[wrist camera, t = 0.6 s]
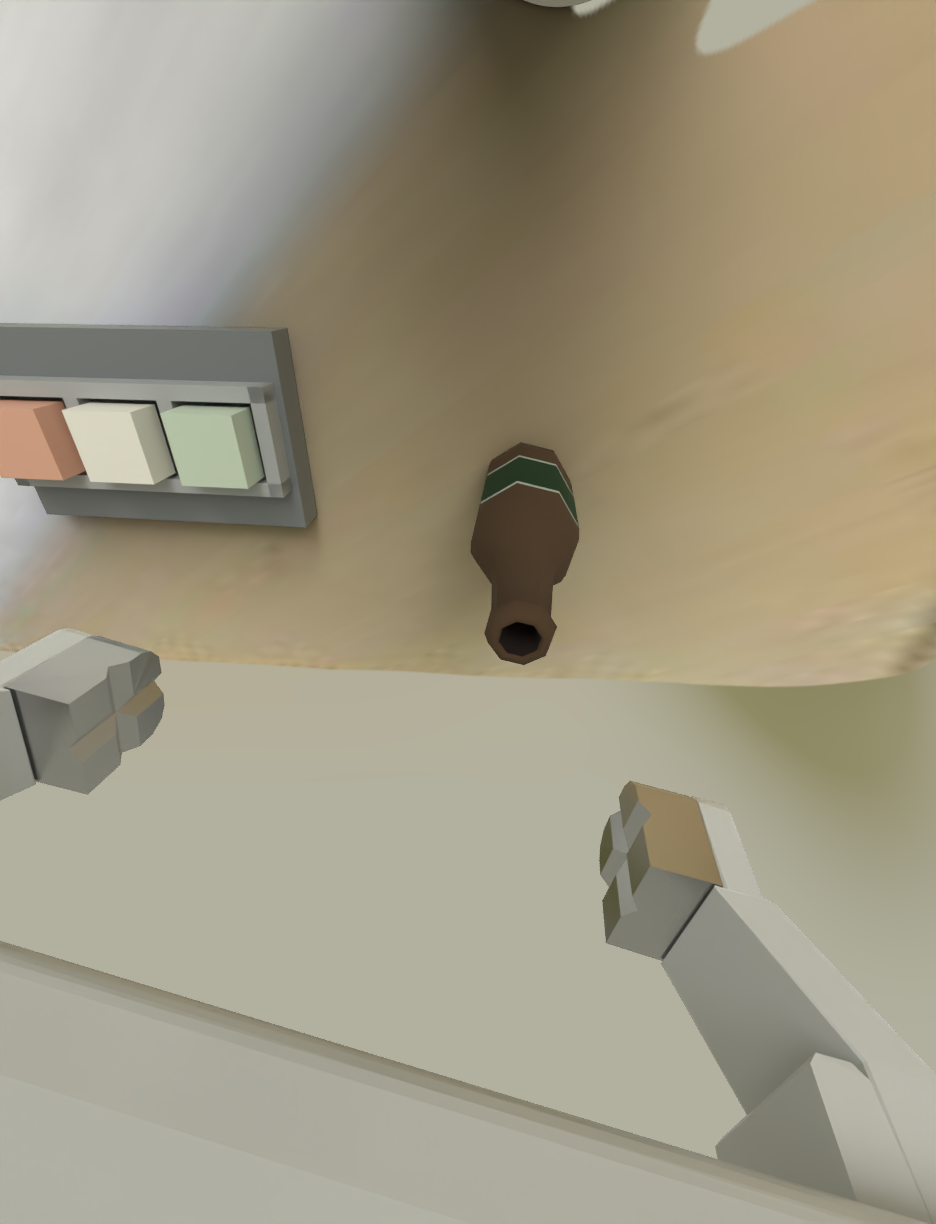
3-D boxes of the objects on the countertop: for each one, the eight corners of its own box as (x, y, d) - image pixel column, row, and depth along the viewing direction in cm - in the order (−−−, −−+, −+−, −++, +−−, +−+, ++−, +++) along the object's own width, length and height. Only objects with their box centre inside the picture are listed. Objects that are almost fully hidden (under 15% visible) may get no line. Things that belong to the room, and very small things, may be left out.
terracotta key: (-1, 399, 42) (-34, 407, 40) (62, 401, 42) (32, 409, 40) (30, 466, 46) (1, 477, 43) (89, 469, 45) (63, 480, 43)
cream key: (89, 402, 42) (61, 410, 39) (154, 404, 41) (129, 412, 39) (115, 470, 45) (90, 481, 42) (175, 472, 44) (154, 484, 42)
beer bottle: (588, 474, 45) (631, 632, 25) (533, 539, 49) (532, 719, 29) (518, 420, 43) (504, 544, 23) (466, 492, 47) (416, 650, 27)
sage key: (182, 405, 41) (159, 413, 39) (249, 407, 41) (231, 415, 38) (202, 473, 44) (182, 485, 42) (264, 476, 44) (248, 488, 41)
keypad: (-9, 323, 44) (-66, 327, 39) (286, 328, 41) (259, 333, 37) (70, 502, 52) (30, 522, 48) (317, 515, 50) (297, 536, 46)
